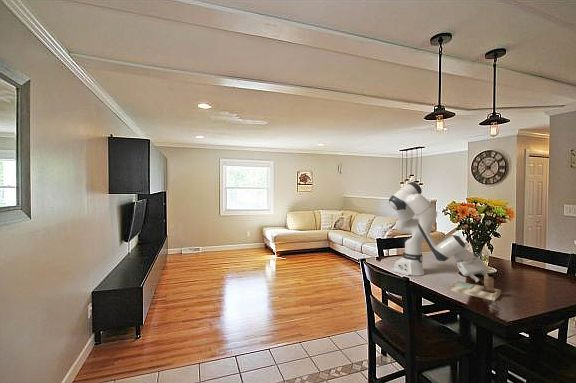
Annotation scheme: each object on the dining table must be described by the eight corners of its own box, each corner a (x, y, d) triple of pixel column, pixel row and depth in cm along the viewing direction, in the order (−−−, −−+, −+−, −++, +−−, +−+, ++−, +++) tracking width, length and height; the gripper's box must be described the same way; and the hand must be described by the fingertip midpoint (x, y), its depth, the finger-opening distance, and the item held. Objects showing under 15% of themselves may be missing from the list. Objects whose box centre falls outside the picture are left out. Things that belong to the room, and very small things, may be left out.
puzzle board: (449, 290, 165) (449, 285, 165) (457, 284, 174) (457, 280, 174) (494, 300, 148) (494, 296, 148) (500, 294, 158) (500, 289, 158)
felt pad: (454, 285, 165) (454, 284, 165) (459, 282, 171) (459, 281, 171) (470, 289, 159) (470, 288, 159) (474, 285, 165) (474, 284, 165)
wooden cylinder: (483, 295, 156) (483, 277, 156) (485, 293, 159) (485, 276, 159) (492, 297, 153) (492, 279, 153) (494, 295, 156) (494, 277, 156)
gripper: (458, 258, 160) (476, 279, 151) (479, 254, 169) (497, 274, 160) (450, 264, 164) (467, 285, 155) (471, 260, 173) (489, 280, 164)
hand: (483, 280), depth 158 cm, fingers open, 8 cm apart
